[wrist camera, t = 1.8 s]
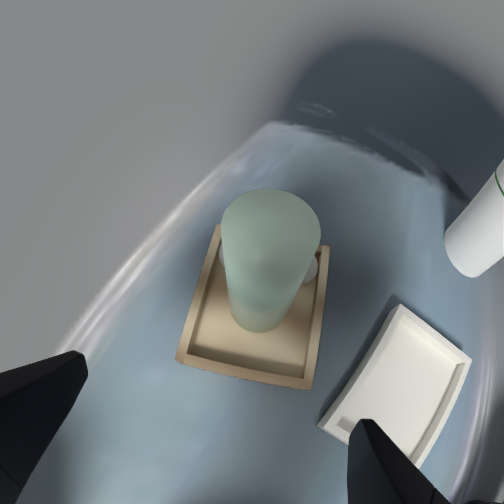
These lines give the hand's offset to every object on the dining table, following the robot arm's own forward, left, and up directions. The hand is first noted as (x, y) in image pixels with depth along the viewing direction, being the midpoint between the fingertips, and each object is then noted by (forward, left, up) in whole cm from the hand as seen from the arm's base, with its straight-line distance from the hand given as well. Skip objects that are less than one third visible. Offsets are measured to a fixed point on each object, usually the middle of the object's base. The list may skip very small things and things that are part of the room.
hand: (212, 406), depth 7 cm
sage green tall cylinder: (+5, -6, -13) cm, 15 cm away
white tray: (-9, -11, -14) cm, 20 cm away
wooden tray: (+5, -6, -14) cm, 16 cm away
